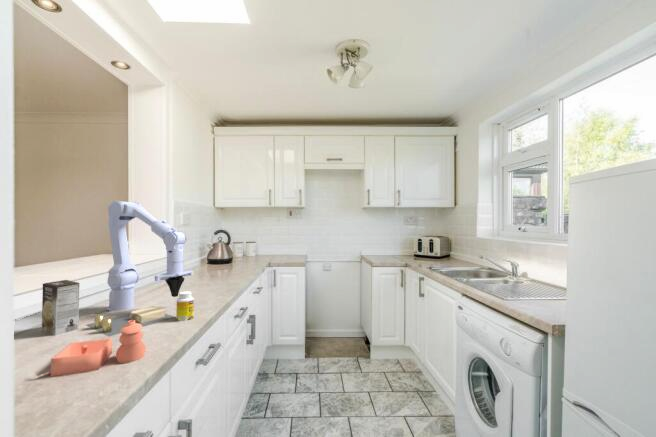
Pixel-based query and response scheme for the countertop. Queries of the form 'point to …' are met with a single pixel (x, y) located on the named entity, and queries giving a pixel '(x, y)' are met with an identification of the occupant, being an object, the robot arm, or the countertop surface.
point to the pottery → (99, 352)
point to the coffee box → (60, 307)
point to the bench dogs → (103, 323)
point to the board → (123, 320)
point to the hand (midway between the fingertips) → (174, 296)
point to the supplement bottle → (185, 306)
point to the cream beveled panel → (147, 314)
